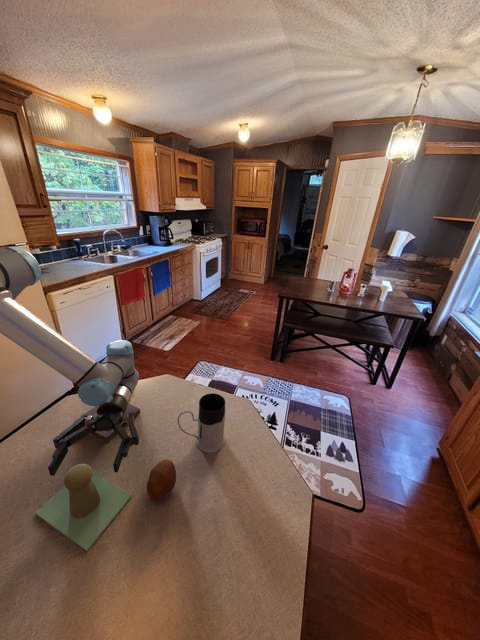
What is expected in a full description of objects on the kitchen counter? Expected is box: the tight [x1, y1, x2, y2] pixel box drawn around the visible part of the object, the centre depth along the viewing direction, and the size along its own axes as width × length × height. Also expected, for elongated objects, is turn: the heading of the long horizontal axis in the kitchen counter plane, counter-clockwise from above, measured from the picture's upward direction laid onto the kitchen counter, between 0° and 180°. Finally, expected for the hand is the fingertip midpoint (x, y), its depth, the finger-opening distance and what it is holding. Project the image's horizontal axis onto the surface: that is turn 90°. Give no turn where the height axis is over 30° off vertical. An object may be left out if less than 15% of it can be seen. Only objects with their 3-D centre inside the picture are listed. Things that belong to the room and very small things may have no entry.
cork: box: [63, 463, 100, 518], centre depth 56 cm, size 6×6×11 cm
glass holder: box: [176, 392, 226, 454], centre depth 74 cm, size 9×14×15 cm, turn 112°
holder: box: [73, 403, 141, 444], centre depth 81 cm, size 13×13×2 cm
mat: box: [34, 471, 133, 553], centre depth 59 cm, size 16×12×1 cm
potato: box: [146, 458, 177, 503], centre depth 63 cm, size 7×9×6 cm
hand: (83, 470), depth 57 cm, fingers open, 13 cm apart
